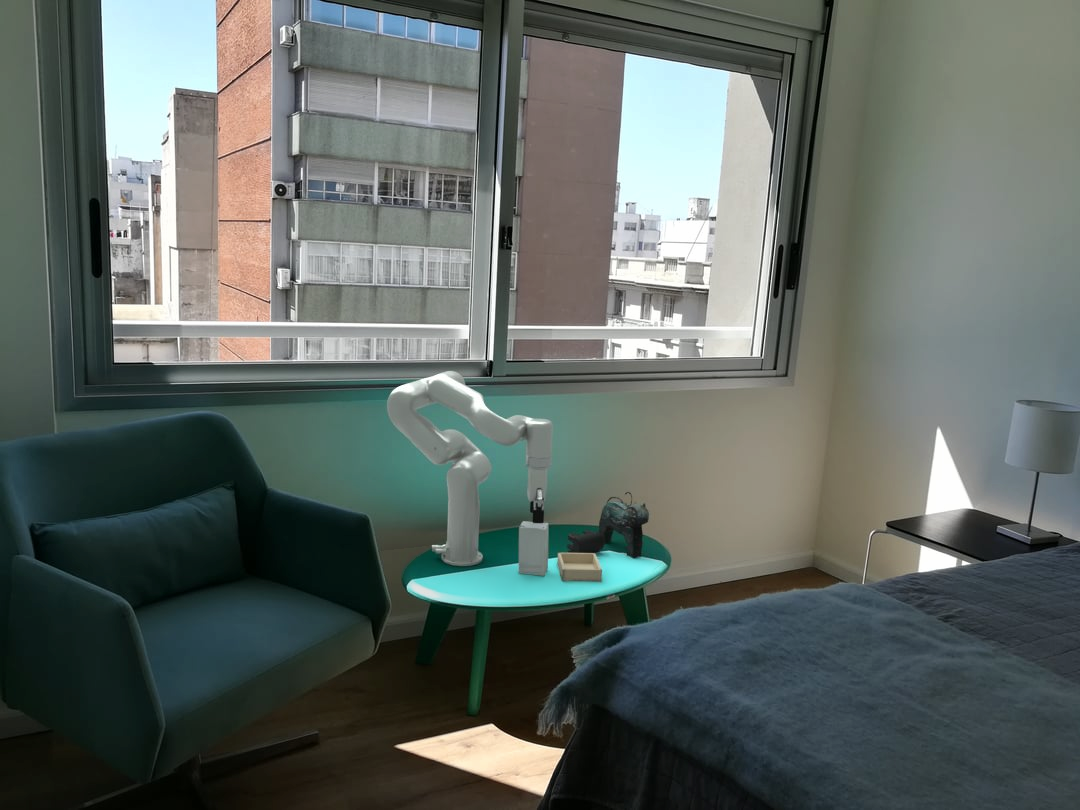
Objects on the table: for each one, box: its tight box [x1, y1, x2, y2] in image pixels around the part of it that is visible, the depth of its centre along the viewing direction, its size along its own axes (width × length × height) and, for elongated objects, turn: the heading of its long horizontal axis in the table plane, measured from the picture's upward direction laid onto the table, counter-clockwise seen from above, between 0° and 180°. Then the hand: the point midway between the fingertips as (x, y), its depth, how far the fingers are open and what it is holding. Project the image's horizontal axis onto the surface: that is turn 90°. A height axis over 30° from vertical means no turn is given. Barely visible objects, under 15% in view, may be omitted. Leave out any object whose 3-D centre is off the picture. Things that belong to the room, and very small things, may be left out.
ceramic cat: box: [598, 491, 650, 559], centre depth 277 cm, size 20×6×20 cm, turn 35°
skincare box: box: [518, 520, 549, 577], centre depth 255 cm, size 8×6×15 cm
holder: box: [556, 552, 603, 583], centre depth 257 cm, size 12×14×4 cm
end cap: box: [566, 529, 605, 554], centre depth 273 cm, size 10×7×7 cm
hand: (536, 517), depth 253 cm, fingers open, 9 cm apart
